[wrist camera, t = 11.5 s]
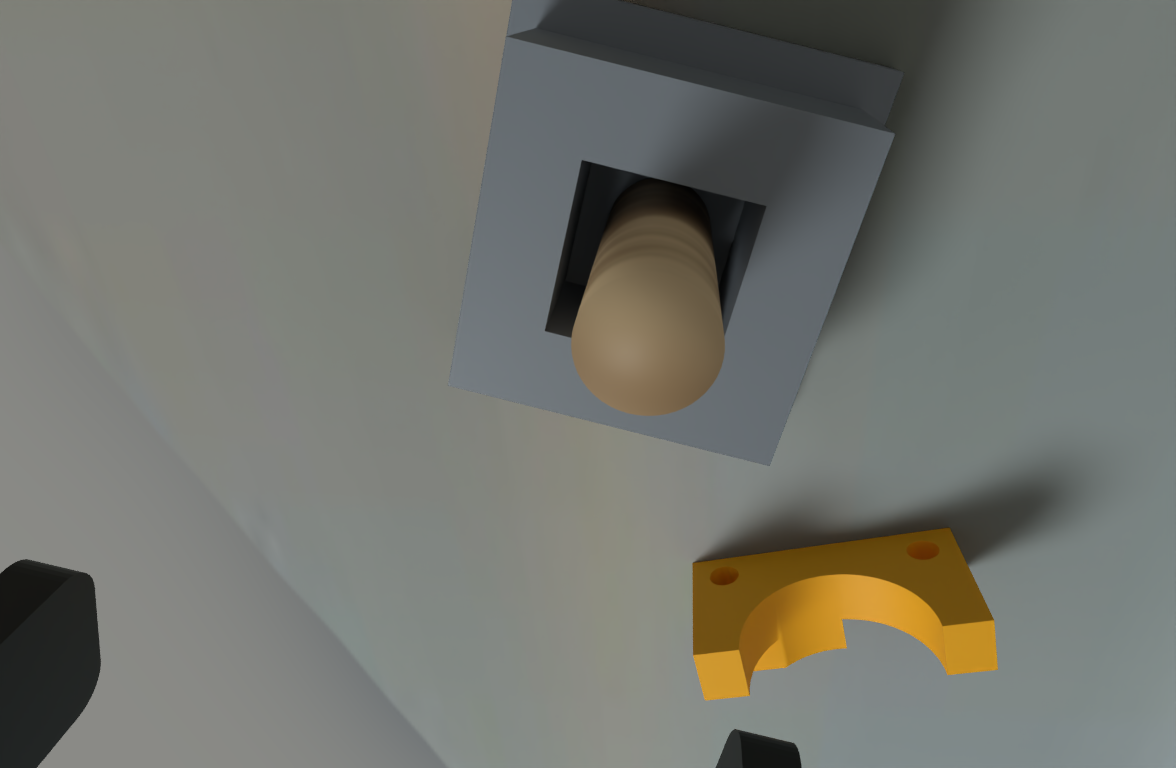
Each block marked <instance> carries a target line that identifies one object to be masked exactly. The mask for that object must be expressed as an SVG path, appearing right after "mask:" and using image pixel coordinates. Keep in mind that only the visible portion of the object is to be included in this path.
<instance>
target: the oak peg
mask: <svg viewBox="0 0 1176 768" xmlns="http://www.w3.org/2000/svg"><path fill="white" fill-rule="evenodd" d="M571 350H572V357H573V361H574V365H575V367H576V370H577V373H578V374H579V376H580V378H581V380H582V381H583V383H584V384H585V385H586V387H587V388H588V389H589V390H590V391H591V392H592V393H593V394H594V395H595V396H596V397H597V398H598V399H600V400H601V401H602V402H604V403H605V404H607V405H609V406H611V407H613V408H615V409H617V410H619V411H622V412H625V413H629V414H634V415H641V416H657V415H664V414H669V413H672V412H676V411H678V410H681V409H683V408H685V407H687V406H689V405H691V404H692V403H694V402H695V401H696V400H698V399H699V398H700V397H702V396H703V395H704V394H705V393H706V392H707V391H708V389H709V388H710V387H711V386H712V384H713V383H714V381H715V380H716V378H717V376H718V374H719V372H720V369H721V367H722V363H723V360H724V353H725V338H724V329H723V321H722V313H721V305H720V297H719V289H718V281H717V273H716V265H715V257H714V249H713V241H712V233H711V225H710V218H709V214H708V211H707V208H706V206H705V204H704V202H703V201H702V199H701V198H700V196H699V195H698V194H697V193H696V192H695V191H694V190H693V189H692V188H690V187H688V186H684V185H680V184H676V183H672V182H668V181H664V180H660V179H656V178H648V179H644V180H641V181H639V182H636V183H634V184H633V185H631V186H630V187H628V188H627V189H626V190H624V191H623V192H622V193H621V194H620V196H619V197H618V198H617V199H616V201H615V202H614V204H613V206H612V208H611V211H610V214H609V217H608V220H607V223H606V226H605V229H604V233H603V236H602V239H601V242H600V245H599V248H598V251H597V255H596V258H595V261H594V264H593V267H592V270H591V273H590V276H589V280H588V283H587V286H586V289H585V292H584V295H583V298H582V302H581V305H580V308H579V311H578V314H577V317H576V320H575V324H574V327H573V331H572V337H571Z"/></svg>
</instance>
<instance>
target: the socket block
mask: <svg viewBox="0 0 1176 768" xmlns="http://www.w3.org/2000/svg"><path fill="white" fill-rule="evenodd" d="M903 75H904V72H902V71H899V70H897V69H894V68H890V67H886V66H882V65H878V64H874V63H870V62H866V61H862V60H858V59H854V58H850V57H846V56H842V55H838V54H834V53H830V52H826V51H822V50H818V49H814V48H810V47H806V46H802V45H798V44H794V43H790V42H786V41H782V40H778V39H774V38H770V37H766V36H762V35H758V34H754V33H750V32H746V31H742V30H738V29H734V28H730V27H726V26H722V25H718V24H714V23H710V22H706V21H702V20H698V19H694V18H690V17H686V16H682V15H678V14H674V13H670V12H666V11H662V10H658V9H654V8H650V7H646V6H642V5H638V4H634V3H630V2H626V1H622V0H512V6H511V12H510V18H509V24H508V30H507V36H506V40H505V46H504V52H503V58H502V64H501V70H500V76H499V82H498V88H497V94H496V100H495V106H494V112H493V118H492V124H491V130H490V136H489V142H488V148H487V154H486V160H485V166H484V172H483V178H482V184H481V190H480V196H479V202H478V208H477V214H476V220H475V226H474V232H473V238H472V244H471V250H470V256H469V262H468V268H467V275H466V281H465V287H464V293H463V299H462V305H461V311H460V317H459V323H458V329H457V335H456V341H455V347H454V353H453V359H452V365H451V371H450V377H449V383H448V386H452V387H456V388H460V389H464V390H468V391H472V392H476V393H480V394H484V395H488V396H492V397H496V398H500V399H504V400H508V401H512V402H516V403H520V404H524V405H528V406H532V407H536V408H540V409H544V410H548V411H552V412H556V413H560V414H564V415H568V416H572V417H576V418H580V419H584V420H588V421H592V422H596V423H600V424H604V425H607V426H611V427H615V428H619V429H623V430H627V431H631V432H635V433H639V434H643V435H647V436H651V437H655V438H659V439H663V440H667V441H671V442H675V443H679V444H683V445H687V446H691V447H695V448H699V449H703V450H707V451H711V452H715V453H719V454H723V455H727V456H731V457H735V458H739V459H743V460H747V461H751V462H755V463H759V464H763V465H767V466H770V464H771V461H772V459H773V456H774V453H775V451H776V448H777V445H778V443H779V440H780V438H781V435H782V432H783V430H784V427H785V424H786V422H787V419H788V416H789V414H790V411H791V408H792V406H793V403H794V400H795V398H796V395H797V393H798V390H799V387H800V385H801V382H802V379H803V377H804V374H805V371H806V369H807V366H808V363H809V361H810V358H811V356H812V353H813V350H814V348H815V345H816V342H817V340H818V337H819V334H820V332H821V329H822V326H823V324H824V321H825V318H826V316H827V313H828V311H829V308H830V305H831V303H832V300H833V297H834V295H835V292H836V289H837V287H838V284H839V281H840V279H841V276H842V273H843V271H844V268H845V266H846V263H847V260H848V258H849V255H850V252H851V250H852V247H853V244H854V242H855V239H856V236H857V234H858V231H859V228H860V226H861V223H862V221H863V218H864V215H865V213H866V210H867V207H868V205H869V202H870V199H871V197H872V194H873V191H874V189H875V186H876V183H877V181H878V178H879V176H880V173H881V170H882V168H883V165H884V162H885V160H886V157H887V154H888V152H889V149H890V146H891V144H892V141H893V139H894V136H895V133H894V132H892V131H891V130H889V129H888V128H887V127H885V124H886V121H887V119H888V116H889V113H890V111H891V108H892V105H893V102H894V100H895V97H896V94H897V92H898V89H899V86H900V84H901V81H902V78H903ZM648 178H656V179H660V180H664V181H668V182H672V183H676V184H680V185H684V186H688V187H690V188H692V189H693V190H694V191H695V192H696V193H697V194H698V195H699V196H700V198H701V199H702V201H703V202H704V204H705V206H706V208H707V211H708V214H709V218H710V225H711V233H712V241H713V249H714V257H715V265H716V273H717V281H718V289H719V297H720V305H721V313H722V321H723V329H724V338H725V353H724V360H723V363H722V367H721V369H720V372H719V374H718V376H717V378H716V380H715V381H714V383H713V384H712V386H711V387H710V388H709V389H708V391H707V392H706V393H705V394H704V395H703V396H702V397H700V398H699V399H698V400H696V401H695V402H694V403H692V404H691V405H689V406H687V407H685V408H683V409H681V410H678V411H676V412H672V413H669V414H664V415H657V416H641V415H634V414H629V413H625V412H622V411H619V410H617V409H615V408H613V407H611V406H609V405H607V404H605V403H604V402H602V401H601V400H600V399H598V398H597V397H596V396H595V395H594V394H593V393H592V392H591V391H590V390H589V389H588V388H587V387H586V385H585V384H584V383H583V381H582V380H581V378H580V376H579V374H578V373H577V370H576V367H575V365H574V361H573V357H572V350H571V337H572V331H573V327H574V324H575V320H576V317H577V314H578V311H579V308H580V305H581V302H582V298H583V295H584V292H585V289H586V286H587V283H588V280H589V276H590V273H591V270H592V267H593V264H594V261H595V258H596V255H597V251H598V248H599V245H600V242H601V239H602V236H603V233H604V229H605V226H606V223H607V220H608V217H609V214H610V211H611V208H612V206H613V204H614V202H615V201H616V199H617V198H618V197H619V196H620V194H621V193H622V192H623V191H624V190H626V189H627V188H628V187H630V186H631V185H633V184H634V183H636V182H639V181H641V180H644V179H648Z"/></svg>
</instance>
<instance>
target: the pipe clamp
mask: <svg viewBox="0 0 1176 768" xmlns="http://www.w3.org/2000/svg"><path fill="white" fill-rule="evenodd" d="M842 619H858V620H868V621H873V622H878V623H882V624H886V625H889V626H892V627H895V628H897V629H900V630H902V631H904V632H906V633H908V634H910V635H912V636H914V637H915V638H917V639H918V640H920V641H921V642H922V643H924V644H925V645H926V646H927V647H928V648H929V649H930V650H931V651H932V652H933V653H934V654H935V655H936V656H937V657H938V659H939V660H940V661H941V663H942V665H943V666H944V668H945V670H946V672H947V674H948V675H952V674H962V673H971V672H981V671H990V670H998V666H997V652H996V639H995V626H994V619H993V617H992V615H991V613H990V611H989V609H988V607H987V604H986V602H985V600H984V598H983V596H982V594H981V592H980V590H979V588H978V586H977V584H976V582H975V580H974V577H973V575H972V573H971V571H970V569H969V567H968V565H967V563H966V561H965V559H964V557H963V555H962V553H961V550H960V548H959V546H958V544H957V542H956V540H955V538H954V536H953V534H952V532H951V530H950V528H942V529H935V530H928V531H920V532H913V533H906V534H899V535H891V536H884V537H877V538H870V539H863V540H855V541H848V542H841V543H834V544H826V545H819V546H812V547H805V548H798V549H790V550H783V551H776V552H769V553H761V554H754V555H747V556H740V557H733V558H725V559H718V560H711V561H704V562H696V563H693V656H694V660H695V664H696V668H697V672H698V676H699V679H700V683H701V687H702V691H703V695H704V699H705V700H714V699H723V698H733V697H742V696H750V680H751V677H752V673H753V671H759V670H768V669H777V668H786V667H787V666H789V665H790V664H792V663H794V662H796V661H797V660H800V659H802V658H804V657H806V656H809V655H812V654H815V653H818V652H822V651H827V650H832V649H841V648H847V647H846V641H845V635H844V629H843V623H842Z"/></svg>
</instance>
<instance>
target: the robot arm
mask: <svg viewBox="0 0 1176 768" xmlns="http://www.w3.org/2000/svg"><path fill="white" fill-rule="evenodd" d="M100 666H101V659H100V647H99V634H98V622H97V610H96V598H95V587H94V582H93V579H92V578H91V576H90V575H88V574H87V573H83V572H79V571H74V570H70V569H66V568H62V567H57V566H53V565H49V564H45V563H40V562H36V561H32V560H27V559H25V560H20V561H17V562H15V563H14V564H12V565H10V566H9V567H8V568H6V569H5V570H4V571H3V572H2V573H1V574H0V768H37V767H38V765H39V764H40V763H41V762H42V761H43V759H44V758H45V757H46V756H47V754H48V753H49V752H50V751H51V750H52V748H53V747H54V746H55V745H56V743H57V742H58V741H59V740H60V739H61V738H62V736H63V735H64V734H65V733H66V731H67V730H68V729H69V728H70V726H71V725H72V724H73V723H74V722H75V720H76V719H77V718H78V717H79V716H80V714H81V713H82V712H83V710H84V708H85V707H86V705H87V704H88V702H89V700H90V698H91V696H92V694H93V692H94V689H95V686H96V684H97V681H98V677H99V673H100ZM716 768H802V767H801V760H800V755H799V751H798V748H797V746H796V745H795V744H794V743H791V742H787V741H783V740H779V739H774V738H770V737H766V736H762V735H758V734H753V733H749V732H745V731H741V730H736V729H734V730H733V731H732V732H731V733H730V735H729V737H728V739H727V741H726V744H725V746H724V749H723V751H722V754H721V756H720V759H719V761H718V764H717V766H716Z"/></svg>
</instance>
